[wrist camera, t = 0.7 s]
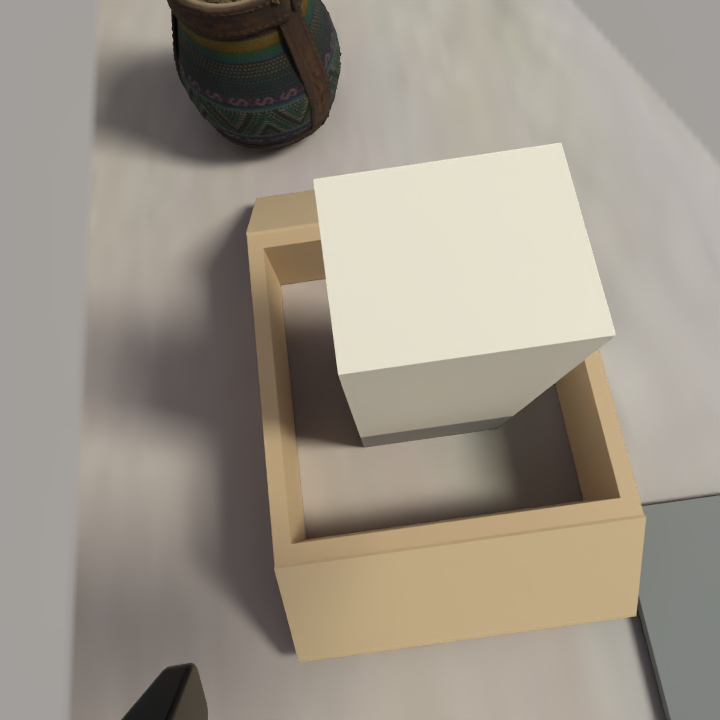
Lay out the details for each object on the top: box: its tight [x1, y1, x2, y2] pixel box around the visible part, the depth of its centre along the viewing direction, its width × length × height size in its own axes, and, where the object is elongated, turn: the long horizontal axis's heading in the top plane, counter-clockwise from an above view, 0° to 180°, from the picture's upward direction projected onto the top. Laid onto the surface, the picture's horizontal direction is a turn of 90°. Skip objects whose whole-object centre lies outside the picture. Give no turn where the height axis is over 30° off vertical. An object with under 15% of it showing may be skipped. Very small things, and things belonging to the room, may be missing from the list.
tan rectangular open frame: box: [246, 190, 646, 662], centre depth 21 cm, size 19×12×4 cm, turn 8°
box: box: [313, 143, 616, 447], centre depth 17 cm, size 4×6×12 cm
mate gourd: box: [167, 0, 341, 149], centre depth 22 cm, size 7×8×10 cm
